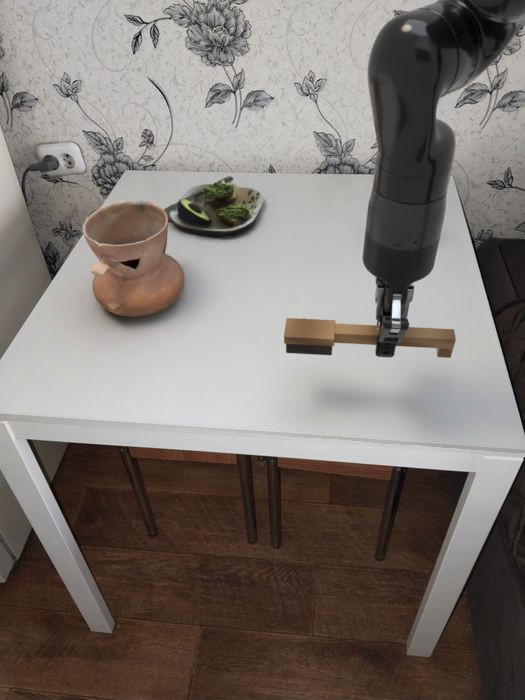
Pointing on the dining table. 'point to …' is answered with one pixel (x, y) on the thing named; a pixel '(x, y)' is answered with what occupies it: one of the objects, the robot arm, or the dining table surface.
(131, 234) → the ceramic jug
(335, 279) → the dining table surface
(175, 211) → the salad plate
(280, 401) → the dining table surface
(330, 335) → the brush
